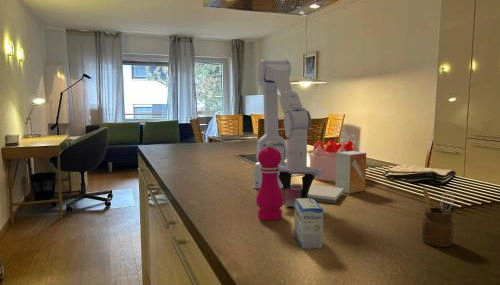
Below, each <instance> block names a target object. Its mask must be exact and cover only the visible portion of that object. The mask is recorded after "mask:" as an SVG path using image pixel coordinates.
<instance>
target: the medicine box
mask: <svg viewBox="0 0 500 285" xmlns="http://www.w3.org/2000/svg"><path fill="white" fill-rule="evenodd" d="M323 229H324V209H323V208H322V207H321V205H320V204H319V203H318V201H315V200H314V199H310V198H300V199H295V207H294V230H293V231H294V233H293V234H294V236H295V239H296V240H297V242H298V243H299V245H300V247H301V249H302V250H306V249H307V250H312V249H311V248H317V249H323V241H324V240H323V239H324V238H323V237H324V236H323V233H324V232H323V231H324V230H323Z"/></svg>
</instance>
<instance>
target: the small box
mask: <svg viewBox="0 0 500 285" xmlns="http://www.w3.org/2000/svg"><path fill="white" fill-rule="evenodd" d="M366 169H367V152H362V151H359V152H357V151H348V152H340V153H336V182H335V187H336V188H344V191H343V192H342V193H343V194H344V193H345V194H349V195H350V194H355V193H358V192H364V191H366V174H367V173H366V172H367V171H366Z"/></svg>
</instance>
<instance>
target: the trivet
mask: <svg viewBox="0 0 500 285" xmlns="http://www.w3.org/2000/svg"><path fill="white" fill-rule="evenodd" d="M343 191H344V188H336V186H335V187H333V186H326V185H325V186H323V185H313V184H311V186H310V189H309V192H308V198H310V199H314V200H315V201H316V202H317V203H318V202H320V203H330V204H335V203H336V202H337V201H338V200H339V199H340V197H342V195H343V193H344V192H343Z"/></svg>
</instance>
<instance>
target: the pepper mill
mask: <svg viewBox="0 0 500 285" xmlns="http://www.w3.org/2000/svg"><path fill="white" fill-rule="evenodd" d="M265 144H266V146H267V148H264V149H262V150H261V151H260V152H259V155H258V160H257V162H259V163H260V164H261V166H260V168H261V170H260V172H262V183H261V187H260V189H258V191H257V194H256V197H255V198H256V199H255V204H256V205H257V207H258V210H257V216H258V218H259V220H263V221H269V222H270V221H271V222H273V221H278V220H280V219H282V216H283V214H282V213H283V211H282V209H281V208H282V206H283V205H284V204H285V201H284V200H285V199H284V194H283V192H282V190H281V189H280V188H279V185H278V179H277V175H278V172H279V166H278V164H279V163H280V162H281V154H280V152H279V151H278V150H277V149H275V148H272V147H273V144H274V143H272V142H267V143H265Z"/></svg>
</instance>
